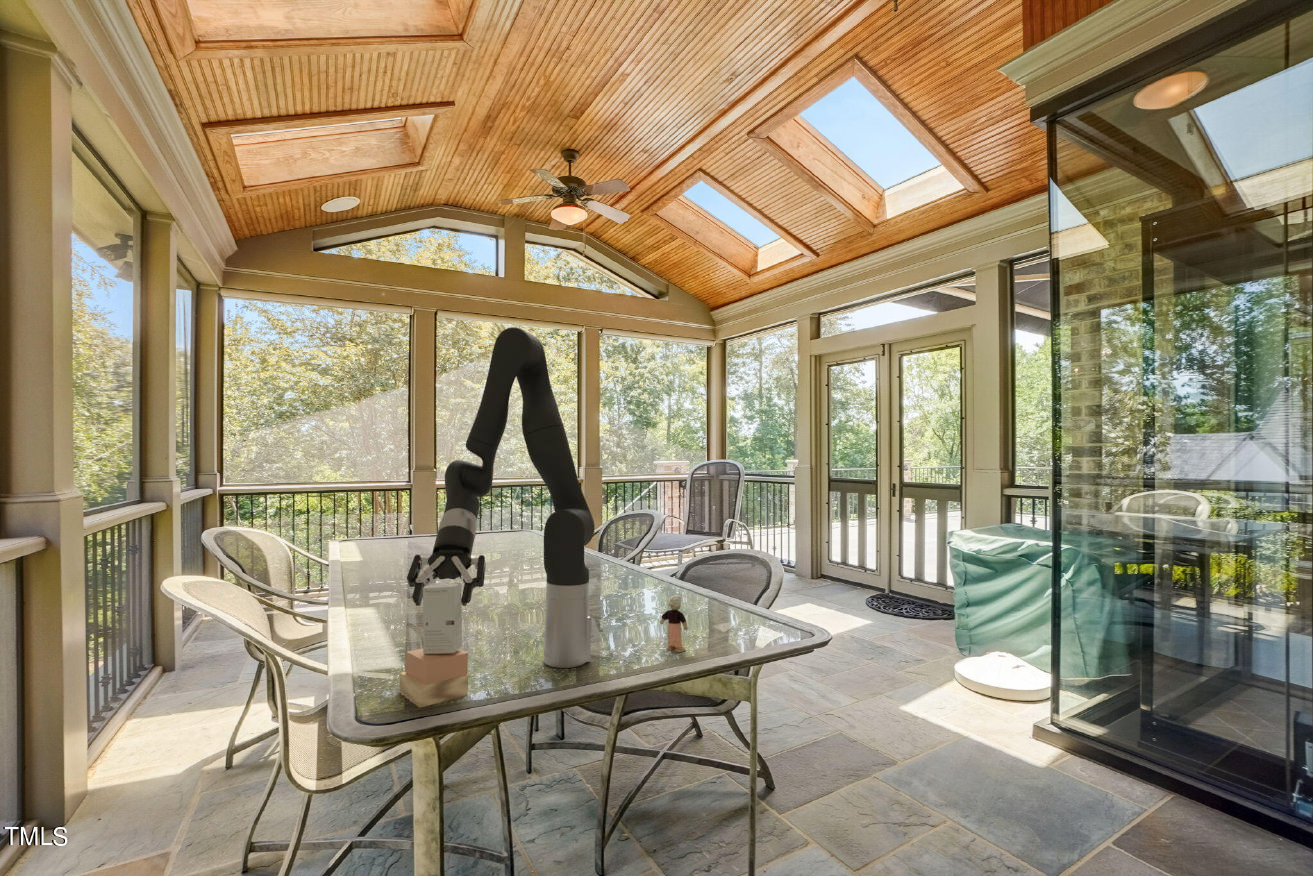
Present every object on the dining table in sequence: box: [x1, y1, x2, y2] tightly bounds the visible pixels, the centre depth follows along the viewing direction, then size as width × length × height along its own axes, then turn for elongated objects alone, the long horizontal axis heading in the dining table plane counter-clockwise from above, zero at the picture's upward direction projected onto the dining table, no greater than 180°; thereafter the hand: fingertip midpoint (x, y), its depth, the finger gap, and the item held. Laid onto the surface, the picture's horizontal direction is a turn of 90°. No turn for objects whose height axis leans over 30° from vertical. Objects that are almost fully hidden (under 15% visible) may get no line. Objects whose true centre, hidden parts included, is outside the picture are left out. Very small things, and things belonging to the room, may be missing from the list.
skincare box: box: [422, 582, 463, 654], centre depth 113 cm, size 6×4×12 cm
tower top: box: [405, 647, 469, 685], centre depth 113 cm, size 8×8×4 cm
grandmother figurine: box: [659, 594, 689, 653], centre depth 144 cm, size 8×4×13 cm, turn 65°
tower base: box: [398, 671, 469, 708], centre depth 113 cm, size 9×9×4 cm
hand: (440, 603), depth 115 cm, fingers open, 8 cm apart
